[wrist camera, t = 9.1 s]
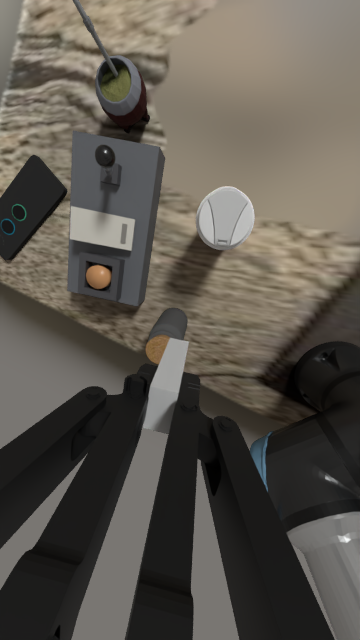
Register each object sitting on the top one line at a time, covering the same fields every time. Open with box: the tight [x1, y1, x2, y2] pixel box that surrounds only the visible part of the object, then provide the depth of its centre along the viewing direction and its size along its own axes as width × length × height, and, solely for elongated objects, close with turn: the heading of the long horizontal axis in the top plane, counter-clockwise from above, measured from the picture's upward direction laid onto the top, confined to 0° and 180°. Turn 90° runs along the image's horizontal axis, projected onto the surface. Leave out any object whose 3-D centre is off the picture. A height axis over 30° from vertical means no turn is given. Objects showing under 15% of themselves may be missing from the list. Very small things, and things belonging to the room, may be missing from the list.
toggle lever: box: [95, 145, 116, 175], centre depth 32 cm, size 2×2×10 cm
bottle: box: [146, 308, 187, 364], centre depth 43 cm, size 6×6×15 cm
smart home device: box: [0, 155, 67, 260], centre depth 46 cm, size 8×2×20 cm
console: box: [67, 131, 165, 306], centre depth 42 cm, size 14×26×8 cm, turn 169°
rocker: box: [70, 206, 136, 251], centre depth 39 cm, size 10×5×1 cm, turn 79°
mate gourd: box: [73, 0, 150, 133], centre depth 32 cm, size 8×8×15 cm
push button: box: [86, 265, 112, 289], centre depth 42 cm, size 4×4×2 cm
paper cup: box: [196, 186, 254, 250], centre depth 36 cm, size 8×8×14 cm
